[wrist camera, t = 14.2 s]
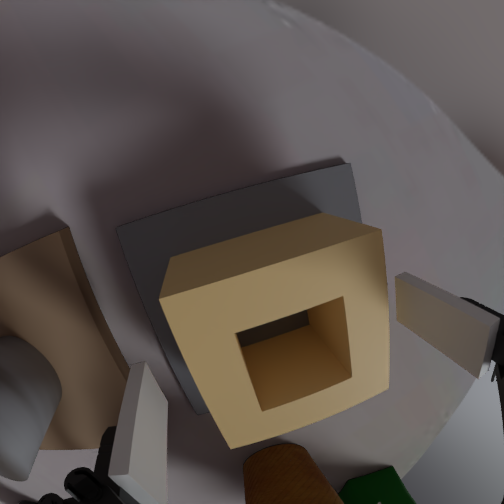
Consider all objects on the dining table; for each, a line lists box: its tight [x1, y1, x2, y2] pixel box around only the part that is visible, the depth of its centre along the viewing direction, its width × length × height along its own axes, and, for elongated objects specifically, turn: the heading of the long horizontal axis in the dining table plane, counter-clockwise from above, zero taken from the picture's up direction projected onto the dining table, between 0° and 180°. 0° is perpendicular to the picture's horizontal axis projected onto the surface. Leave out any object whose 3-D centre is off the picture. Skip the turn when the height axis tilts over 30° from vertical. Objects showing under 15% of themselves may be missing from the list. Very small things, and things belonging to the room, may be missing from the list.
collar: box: [159, 213, 390, 449], centre depth 15 cm, size 9×9×6 cm
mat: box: [116, 163, 362, 415], centre depth 18 cm, size 14×14×1 cm
